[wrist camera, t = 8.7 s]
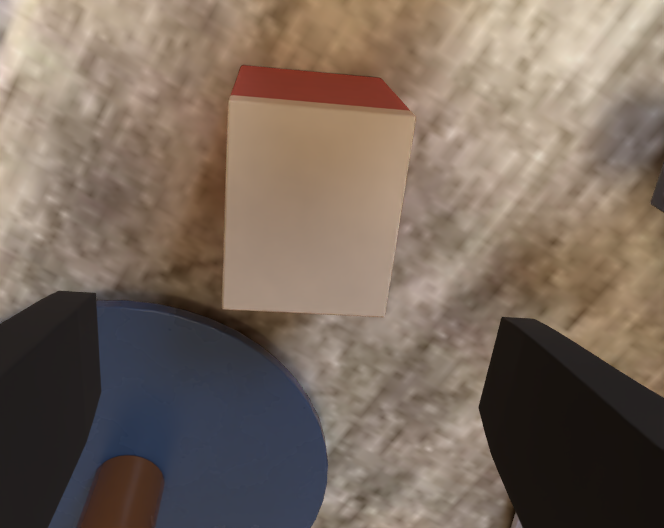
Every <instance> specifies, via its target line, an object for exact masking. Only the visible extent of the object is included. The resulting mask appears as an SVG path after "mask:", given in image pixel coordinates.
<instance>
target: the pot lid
mask: <svg viewBox="0 0 664 528" xmlns="http://www.w3.org/2000/svg"><path fill="white" fill-rule="evenodd" d="M96 304H97V322H98V340H99V358H100V375H101V395H100V398H99V402H98V406H97V409H96V413H95V416H94V420H93V423H92V426H91V429H90V433H89V436H88V439H87V442H86V444H85V447H84V449H83V451H82V454H81V456H80V458H79V460H78V463H77V465H76V467H75V469H74V472H73V474H72V476H71V478H70V481H69V483H68V485H67V487H66V489H65V492H64V494H63V496H62V498H61V500H60V502H59V505H58V507H57V509H56V511H55V513H54V516H53V518H52V520H51V522H50V524H49V527H48V528H311V526H312V525H313V523H314V521H315V520H316V517H317V515H318V512H319V510H320V507H321V505H322V502H323V499H324V494H325V489H326V485H327V471H328V460H327V452H326V444H325V436H324V433H323V430H322V427H321V423H320V420H319V417H318V415H317V413H316V411H315V409H314V407H313V405H312V403H311V401H310V399H309V397H308V395H307V394H306V393H305V391H304V390H303V388H302V387H301V385H300V384H299V383H298V381H297V380H296V379H295V377H294V376H293V375H292V374H291V373H290V372H289V371H288V370H287V369H286V368H285V367H284V366H283V365H282V364H281V362H280V361H278V360H277V359H276V358H275V357H274V356H272V355H271V354H270V353H269V352H267V351H266V350H265V349H264V348H263V347H261V346H260V345H259V344H257V343H255V342H254V341H252V340H251V339H249V338H247V337H246V336H244V335H243V334H241V333H240V332H238V331H236V330H234V329H232V328H230V327H228V326H225V325H223V324H221V323H219V322H217V321H215V320H213V319H210V318H207V317H204V316H201V315H198V314H195V313H192V312H190V311H187V310H183V309H179V308H174V307H169V306H165V305H160V304H156V303H147V302H137V301H128V300H96Z"/></svg>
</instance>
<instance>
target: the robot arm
mask: <svg viewBox="0 0 664 528" xmlns="http://www.w3.org/2000/svg"><path fill="white" fill-rule="evenodd" d="M100 395H101V375H100V358H99V340H98V322H97V304H96V293H86V292H69V291H58V292H56V293H53V294H51V295H49V296H47V297H46V298H44V299H42V300H40V301H38V302H37V303H35V304H33V305H31V306H30V307H28V308H26V309H25V310H23V311H21V312H20V313H18V314H16V315H15V316H13V317H11V318H10V319H8V320H6V321H4V322H3V323H1V324H0V528H48V527H49V524H50V522H51V520H52V518H53V516H54V513H55V511H56V509H57V507H58V505H59V502H60V500H61V498H62V496H63V494H64V492H65V489H66V487H67V485H68V483H69V481H70V478H71V476H72V474H73V472H74V469H75V467H76V465H77V463H78V460H79V458H80V456H81V454H82V451H83V449H84V447H85V444H86V442H87V439H88V436H89V433H90V429H91V426H92V423H93V420H94V416H95V413H96V409H97V406H98V402H99V398H100ZM479 411H480V415H481V419H482V423H483V427H484V431H485V435H486V438H487V442H488V445H489V448H490V452H491V455H492V458H493V460H494V463H495V465H496V467H497V470H498V472H499V474H500V477H501V479H502V481H503V484H504V486H505V489H506V491H507V493H508V495H509V498H510V500H511V502H512V505H513V507H514V509H515V511H516V513H515V516H514V519H513V522H512V526H511V528H664V398H663V397H661V396H660V395H658V394H656V393H655V392H653V391H651V390H649V389H648V388H646V387H644V386H643V385H641V384H640V383H638V382H636V381H635V380H633V379H631V378H630V377H628V376H627V375H625V374H623V373H622V372H620V371H619V370H617V369H615V368H614V367H612V366H611V365H609V364H608V363H606V362H604V361H603V360H601V359H600V358H598V357H597V356H595V355H594V354H592V353H590V352H589V351H587V350H586V349H584V348H583V347H581V346H580V345H578V344H576V343H575V342H573V341H572V340H570V339H569V338H567V337H565V336H564V335H562V334H560V333H559V332H557V331H556V330H554V329H552V328H550V327H549V326H547V325H545V324H543V323H541V322H539V321H537V320H535V319H528V318H511V317H502V318H501V321H500V325H499V329H498V333H497V337H496V341H495V345H494V349H493V353H492V357H491V361H490V365H489V368H488V372H487V376H486V380H485V384H484V388H483V392H482V396H481V400H480V404H479Z"/></svg>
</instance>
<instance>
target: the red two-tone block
mask: <svg viewBox="0 0 664 528" xmlns="http://www.w3.org/2000/svg"><path fill="white" fill-rule="evenodd" d="M415 122H416V116H415V115H414V114H413V113H412V112H411V111H410V110H409V109H408V108H407V106H406V105H405V104H404V103H403V102H402V101H401V100H400V99H399V98H398V96H397V95H396V94H395V93H394V92H393V91H392V90H391V89H390V88H389V86H388V85H387V84H386V83H385V82H384V81H383V80H382V79H381V78H376V77H365V76H354V75H343V74H332V73H322V72H311V71H300V70H289V69H279V68H268V67H257V66H246V65H242V66H241V67H240V70H239V73H238V76H237V79H236V81H235V84H234V87H233V90H232V93H231V95H230V98H229V101H228V118H227V151H226V184H225V217H224V250H223V283H222V308H223V309H224V310H245V311H266V312H286V313H307V314H327V315H348V316H368V317H384V316H385V312H386V306H387V300H388V293H389V287H390V281H391V274H392V268H393V262H394V255H395V249H396V243H397V236H398V230H399V224H400V217H401V211H402V204H403V198H404V192H405V185H406V179H407V173H408V166H409V160H410V154H411V147H412V141H413V135H414V128H415Z"/></svg>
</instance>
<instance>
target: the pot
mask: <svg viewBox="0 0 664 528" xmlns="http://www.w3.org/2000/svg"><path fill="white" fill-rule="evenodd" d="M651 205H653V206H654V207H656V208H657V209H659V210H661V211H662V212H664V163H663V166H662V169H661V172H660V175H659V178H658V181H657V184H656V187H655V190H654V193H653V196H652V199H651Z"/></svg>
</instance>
